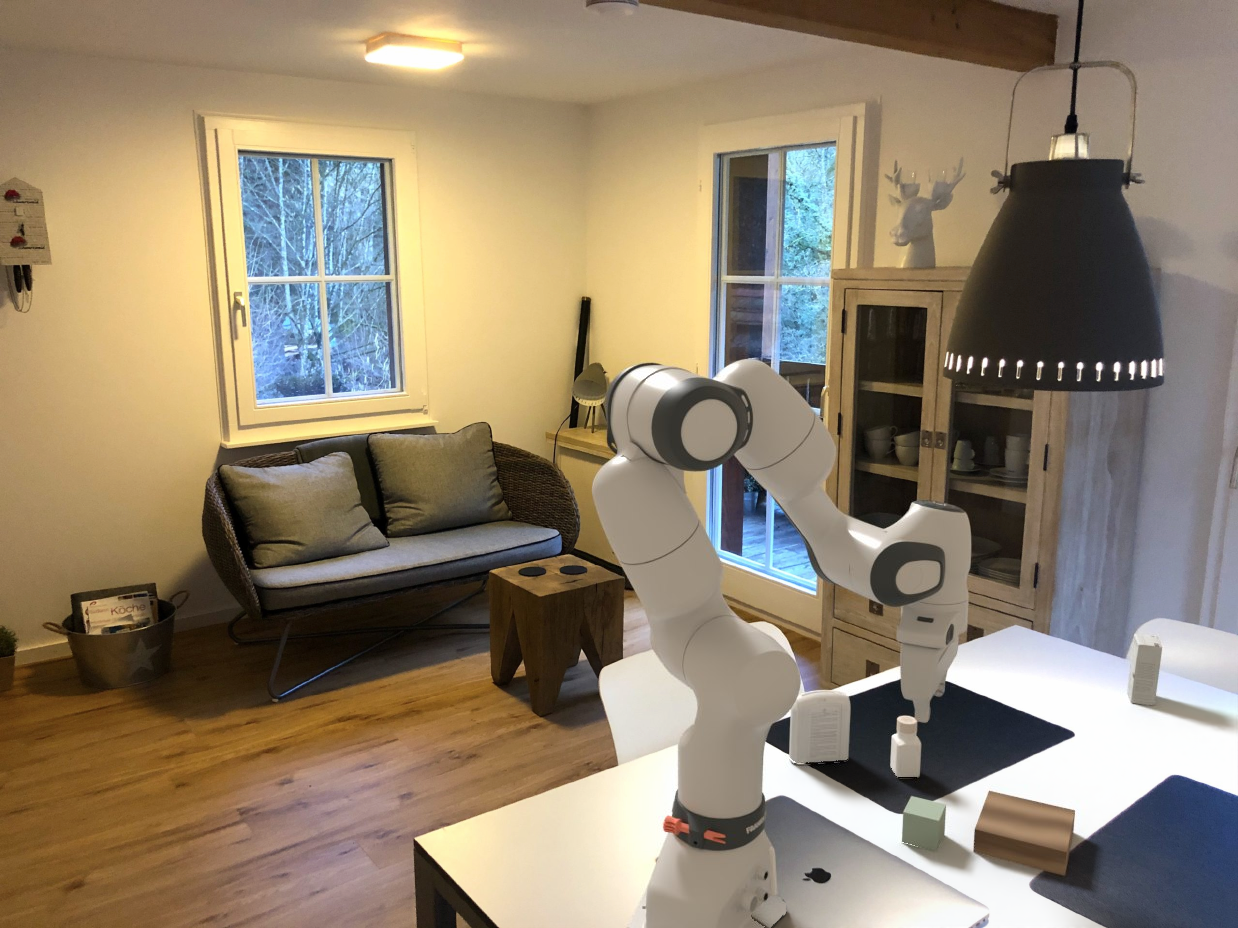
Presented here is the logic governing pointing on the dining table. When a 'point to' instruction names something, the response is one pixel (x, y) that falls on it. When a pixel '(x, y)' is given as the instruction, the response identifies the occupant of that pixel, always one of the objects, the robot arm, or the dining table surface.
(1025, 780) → the dining table surface
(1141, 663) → the skincare box
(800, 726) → the white rounded block
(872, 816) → the dining table surface
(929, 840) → the green cube
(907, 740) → the salt shaker
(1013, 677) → the dining table surface
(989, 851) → the walnut block
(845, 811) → the dining table surface
